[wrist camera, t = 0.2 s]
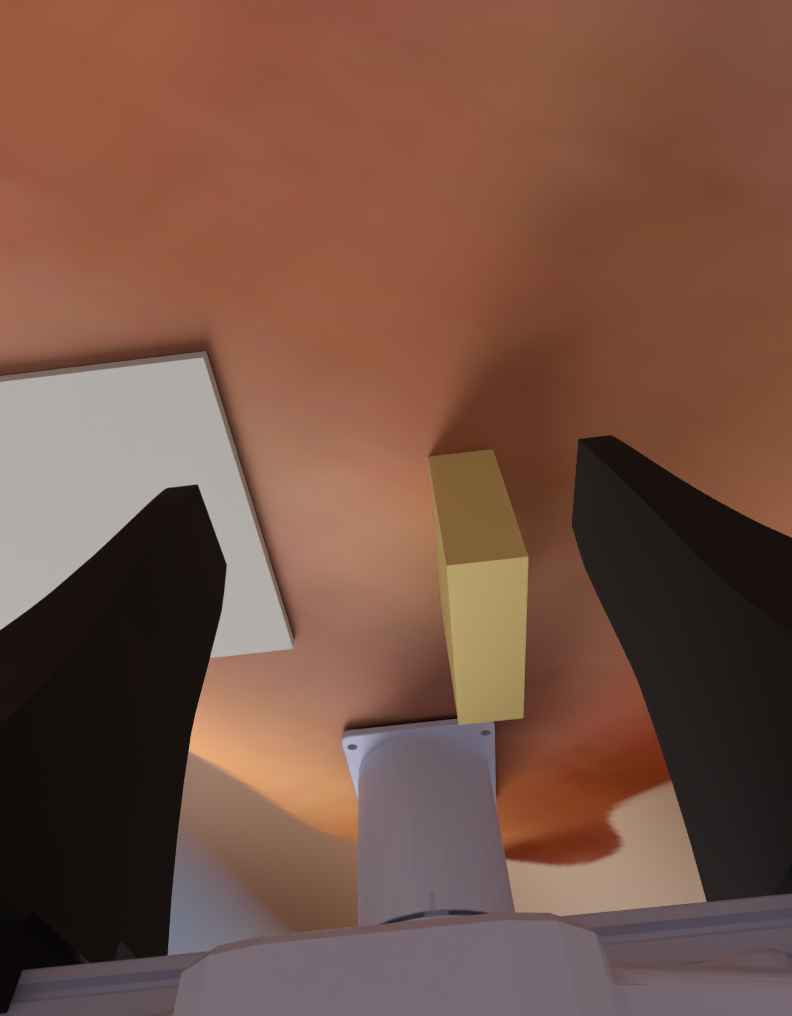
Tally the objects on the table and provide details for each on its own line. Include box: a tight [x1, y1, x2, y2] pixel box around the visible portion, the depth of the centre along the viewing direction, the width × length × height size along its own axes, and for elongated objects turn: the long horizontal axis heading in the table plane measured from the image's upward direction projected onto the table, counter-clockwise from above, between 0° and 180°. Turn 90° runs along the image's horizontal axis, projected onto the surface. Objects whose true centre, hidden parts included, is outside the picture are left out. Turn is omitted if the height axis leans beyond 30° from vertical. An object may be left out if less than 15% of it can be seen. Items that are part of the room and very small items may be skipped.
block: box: [428, 449, 528, 725], centre depth 23 cm, size 8×2×6 cm, turn 6°
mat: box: [0, 351, 294, 658], centre depth 24 cm, size 14×12×1 cm
